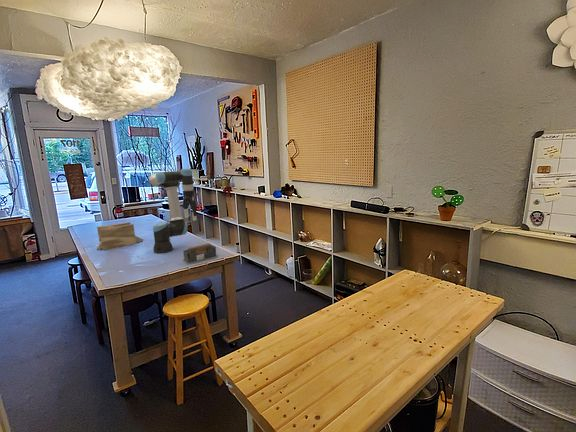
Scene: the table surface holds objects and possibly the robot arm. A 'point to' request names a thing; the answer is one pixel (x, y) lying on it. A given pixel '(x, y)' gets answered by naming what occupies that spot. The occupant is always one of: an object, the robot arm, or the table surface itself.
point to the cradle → (116, 235)
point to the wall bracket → (135, 239)
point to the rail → (199, 249)
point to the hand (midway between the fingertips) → (190, 218)
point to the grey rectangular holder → (193, 258)
